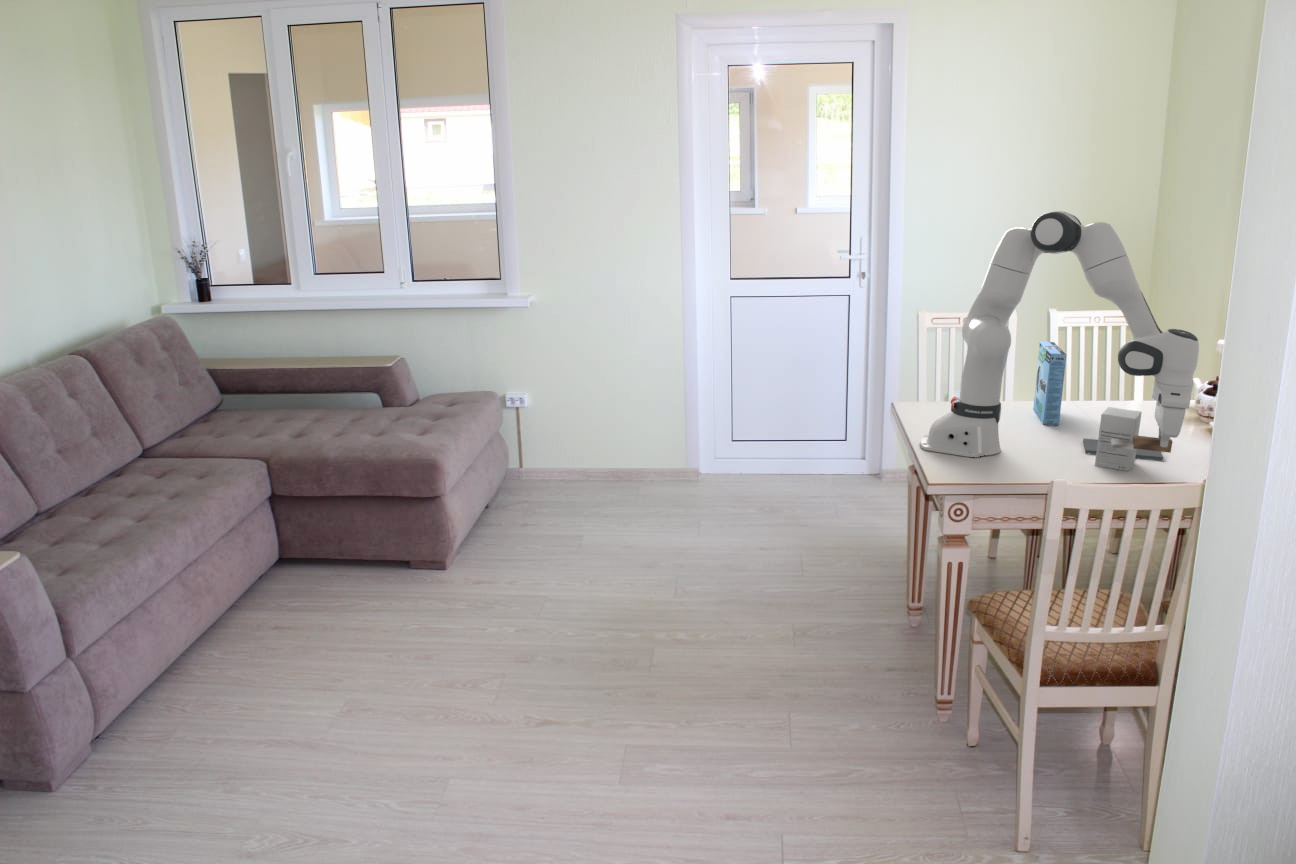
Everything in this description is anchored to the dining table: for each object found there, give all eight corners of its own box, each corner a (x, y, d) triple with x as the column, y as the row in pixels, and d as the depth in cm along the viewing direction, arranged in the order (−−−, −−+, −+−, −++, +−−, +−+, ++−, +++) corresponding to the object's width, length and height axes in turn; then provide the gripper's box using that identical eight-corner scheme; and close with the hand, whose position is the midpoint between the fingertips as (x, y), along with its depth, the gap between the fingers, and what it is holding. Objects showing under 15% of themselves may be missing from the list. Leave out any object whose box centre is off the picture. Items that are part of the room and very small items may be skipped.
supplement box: (1100, 457, 280) (1107, 406, 276) (1135, 463, 275) (1142, 411, 271) (1093, 465, 273) (1100, 413, 269) (1128, 471, 268) (1136, 418, 264)
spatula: (1112, 447, 261) (1113, 436, 260) (1110, 442, 265) (1112, 431, 264) (1171, 454, 256) (1173, 443, 255) (1168, 448, 261) (1170, 437, 260)
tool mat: (1085, 453, 284) (1085, 449, 283) (1082, 441, 294) (1083, 438, 294) (1162, 460, 277) (1163, 457, 277) (1157, 448, 288) (1158, 445, 288)
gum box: (1058, 425, 311) (1067, 354, 304) (1041, 424, 312) (1050, 353, 305) (1047, 409, 329) (1055, 341, 322) (1031, 408, 330) (1039, 341, 323)
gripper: (1153, 383, 265) (1145, 432, 269) (1162, 401, 246) (1153, 453, 250) (1180, 385, 263) (1170, 435, 267) (1191, 404, 244) (1181, 457, 248)
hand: (1162, 444), depth 258 cm, fingers closed on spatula, 2 cm apart
